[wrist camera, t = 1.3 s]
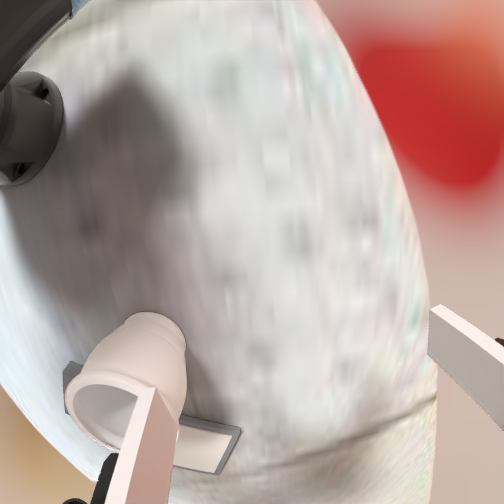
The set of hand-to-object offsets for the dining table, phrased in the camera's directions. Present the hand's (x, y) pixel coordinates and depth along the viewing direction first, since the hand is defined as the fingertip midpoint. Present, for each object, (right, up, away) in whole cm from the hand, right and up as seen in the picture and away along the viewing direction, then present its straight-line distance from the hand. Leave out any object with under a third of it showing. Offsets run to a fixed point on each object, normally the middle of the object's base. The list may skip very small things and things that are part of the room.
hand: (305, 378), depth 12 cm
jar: (-15, -5, +23) cm, 28 cm away
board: (-14, -24, +27) cm, 39 cm away
